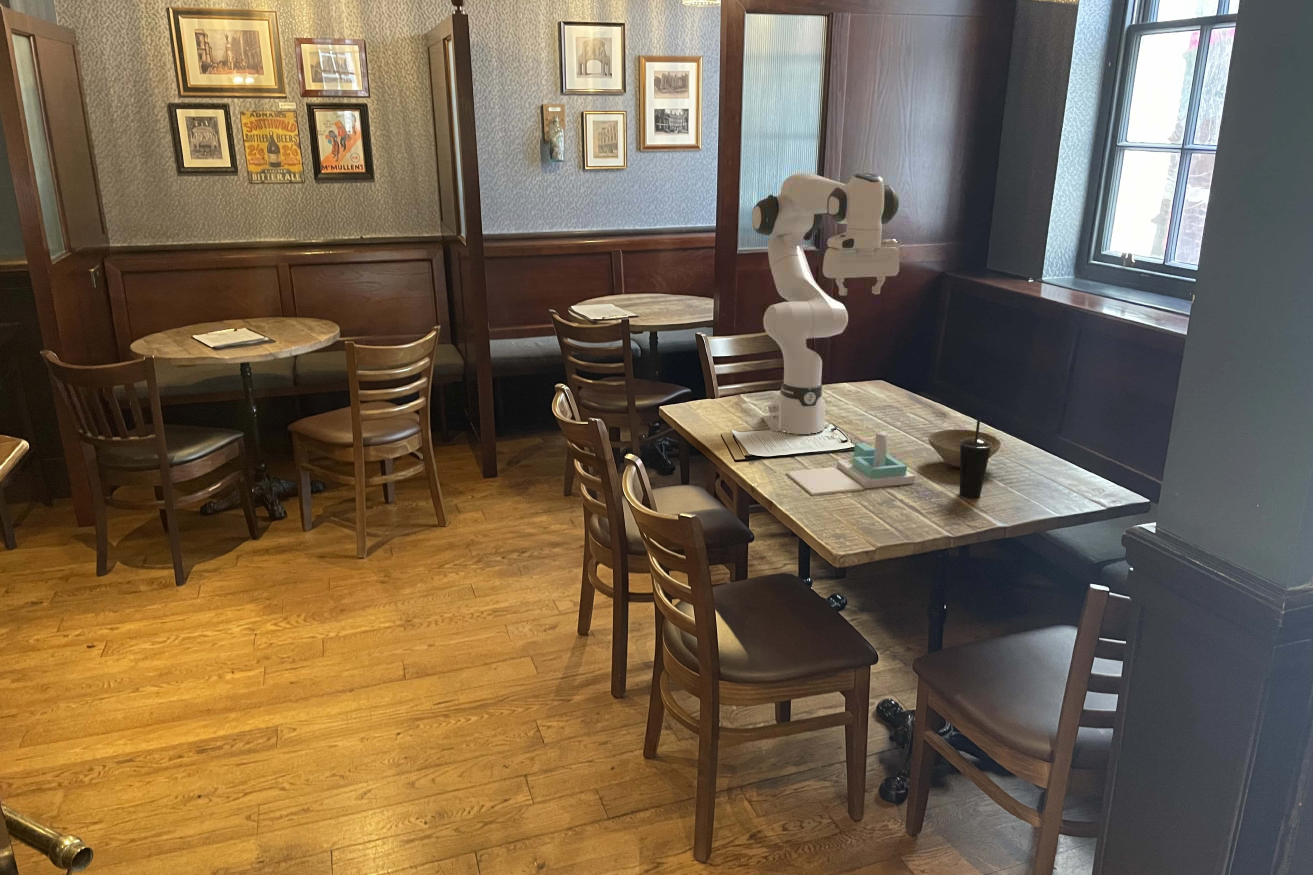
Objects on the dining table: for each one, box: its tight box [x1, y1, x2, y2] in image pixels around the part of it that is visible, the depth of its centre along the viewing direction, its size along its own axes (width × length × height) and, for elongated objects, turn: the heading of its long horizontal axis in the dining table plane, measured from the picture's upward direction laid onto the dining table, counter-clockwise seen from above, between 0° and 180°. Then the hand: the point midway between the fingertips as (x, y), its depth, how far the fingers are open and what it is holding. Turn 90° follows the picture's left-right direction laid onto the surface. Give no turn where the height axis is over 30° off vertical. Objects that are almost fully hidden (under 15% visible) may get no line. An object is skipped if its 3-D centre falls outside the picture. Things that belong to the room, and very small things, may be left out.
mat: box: [786, 466, 864, 496], centre depth 237 cm, size 16×14×1 cm
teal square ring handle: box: [852, 442, 908, 479], centre depth 241 cm, size 16×10×4 cm, turn 16°
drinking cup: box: [959, 417, 993, 500], centre depth 225 cm, size 8×8×20 cm
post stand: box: [836, 431, 916, 489], centre depth 240 cm, size 16×14×12 cm
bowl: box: [927, 428, 1002, 469], centre depth 247 cm, size 18×18×8 cm
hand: (859, 294), depth 238 cm, fingers open, 8 cm apart
